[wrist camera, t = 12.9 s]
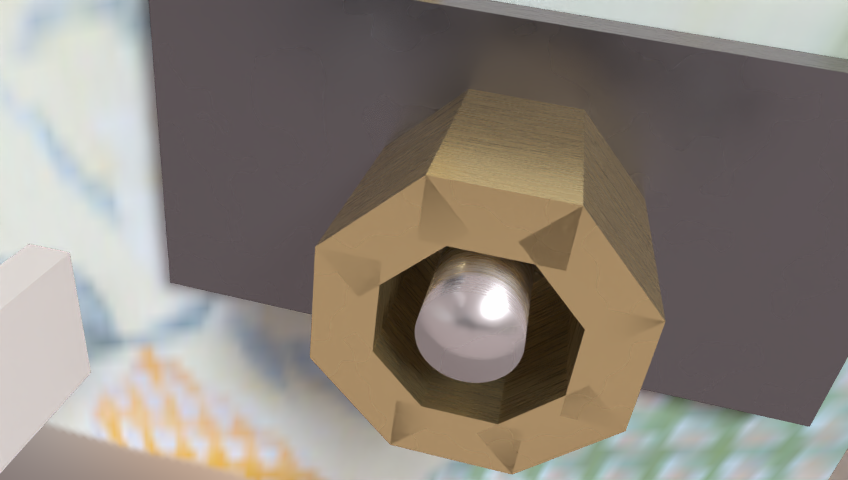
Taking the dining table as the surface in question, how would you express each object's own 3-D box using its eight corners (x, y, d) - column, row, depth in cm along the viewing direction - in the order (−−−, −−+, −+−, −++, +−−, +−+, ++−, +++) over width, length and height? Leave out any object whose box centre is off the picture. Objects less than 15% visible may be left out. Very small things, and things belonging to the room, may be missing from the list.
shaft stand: (192, 259, 24) (47, 408, 17) (175, -53, 19) (-37, -3, 12) (796, 392, 22) (884, 620, 15) (959, 78, 17) (1194, 220, 10)
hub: (368, 297, 21) (306, 424, 17) (390, 74, 18) (319, 154, 13) (598, 348, 20) (601, 496, 16) (668, 124, 17) (699, 228, 12)
